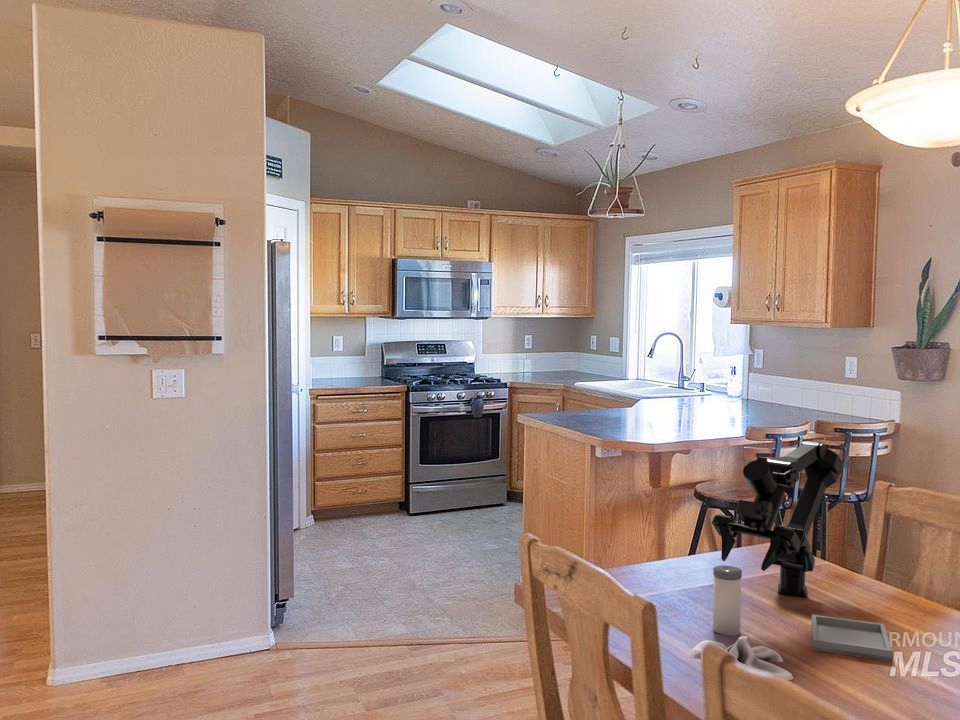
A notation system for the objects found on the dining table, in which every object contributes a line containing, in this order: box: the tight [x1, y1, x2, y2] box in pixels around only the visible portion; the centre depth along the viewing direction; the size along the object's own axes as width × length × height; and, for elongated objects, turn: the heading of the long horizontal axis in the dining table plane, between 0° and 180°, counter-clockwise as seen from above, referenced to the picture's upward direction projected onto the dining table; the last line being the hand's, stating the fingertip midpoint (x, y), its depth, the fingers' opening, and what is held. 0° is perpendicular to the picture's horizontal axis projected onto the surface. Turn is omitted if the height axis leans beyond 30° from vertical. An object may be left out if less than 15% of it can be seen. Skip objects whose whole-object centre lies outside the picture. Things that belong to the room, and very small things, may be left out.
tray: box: [811, 614, 893, 663], centre depth 160 cm, size 14×14×2 cm
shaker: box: [712, 564, 743, 637], centre depth 166 cm, size 6×6×13 cm
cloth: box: [689, 635, 794, 682], centre depth 149 cm, size 22×19×6 cm
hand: (742, 564), depth 170 cm, fingers open, 9 cm apart
